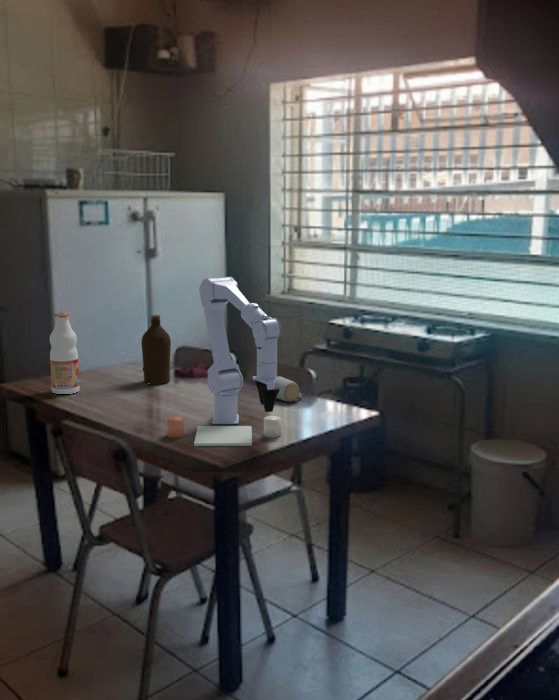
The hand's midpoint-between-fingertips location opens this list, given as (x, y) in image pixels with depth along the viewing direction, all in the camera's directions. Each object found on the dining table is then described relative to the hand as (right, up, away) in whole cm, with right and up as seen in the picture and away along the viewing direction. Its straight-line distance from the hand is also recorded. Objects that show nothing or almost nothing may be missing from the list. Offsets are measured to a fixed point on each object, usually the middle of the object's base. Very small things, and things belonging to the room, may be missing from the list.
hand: (266, 407), depth 217 cm
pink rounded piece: (-26, -8, +2) cm, 28 cm away
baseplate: (-12, -8, +1) cm, 15 cm away
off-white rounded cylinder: (+2, -8, +3) cm, 9 cm away
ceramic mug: (+6, -1, +42) cm, 43 cm away
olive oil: (-42, +5, +65) cm, 77 cm away
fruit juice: (-71, +2, +49) cm, 86 cm away
